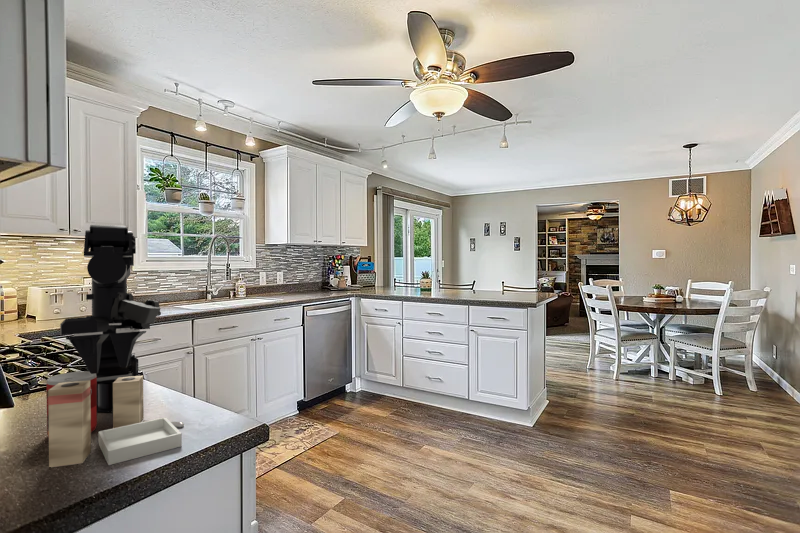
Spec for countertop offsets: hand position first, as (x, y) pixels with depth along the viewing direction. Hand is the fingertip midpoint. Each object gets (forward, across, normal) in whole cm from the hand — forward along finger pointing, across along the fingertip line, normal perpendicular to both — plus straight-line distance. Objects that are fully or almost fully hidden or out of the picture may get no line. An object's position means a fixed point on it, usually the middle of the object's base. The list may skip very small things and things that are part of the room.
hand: (109, 370), depth 83 cm
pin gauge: (+12, +5, -7) cm, 15 cm away
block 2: (+12, +8, +1) cm, 14 cm away
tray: (+13, -4, -7) cm, 16 cm away
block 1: (+14, -9, +1) cm, 16 cm away
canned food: (+12, +3, +9) cm, 15 cm away
